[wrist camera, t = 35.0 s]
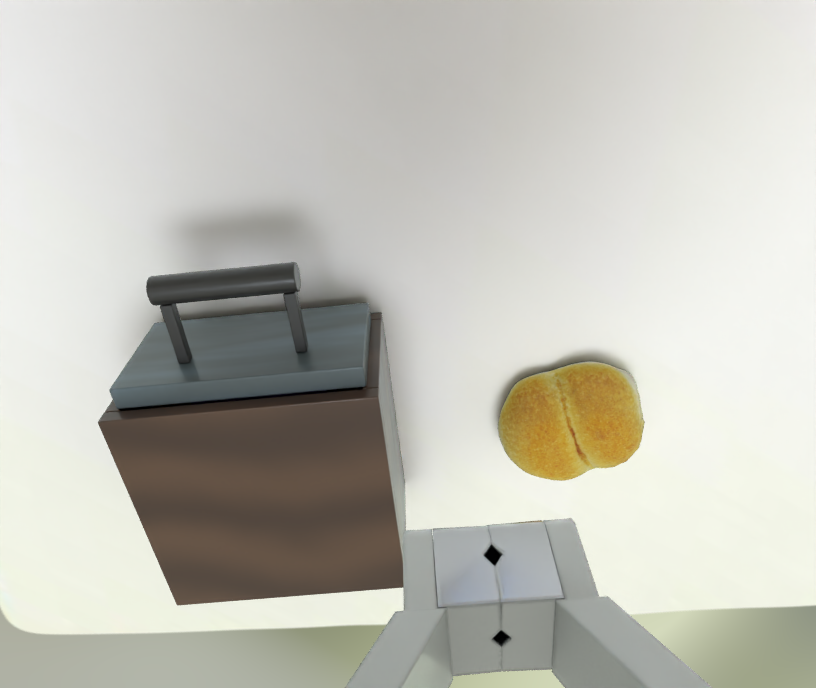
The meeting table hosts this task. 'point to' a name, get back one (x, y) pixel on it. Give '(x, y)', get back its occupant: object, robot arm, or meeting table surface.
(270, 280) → the drawer
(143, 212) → the meeting table surface
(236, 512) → the cabinet
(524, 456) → the bread roll
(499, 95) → the meeting table surface
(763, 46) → the meeting table surface
